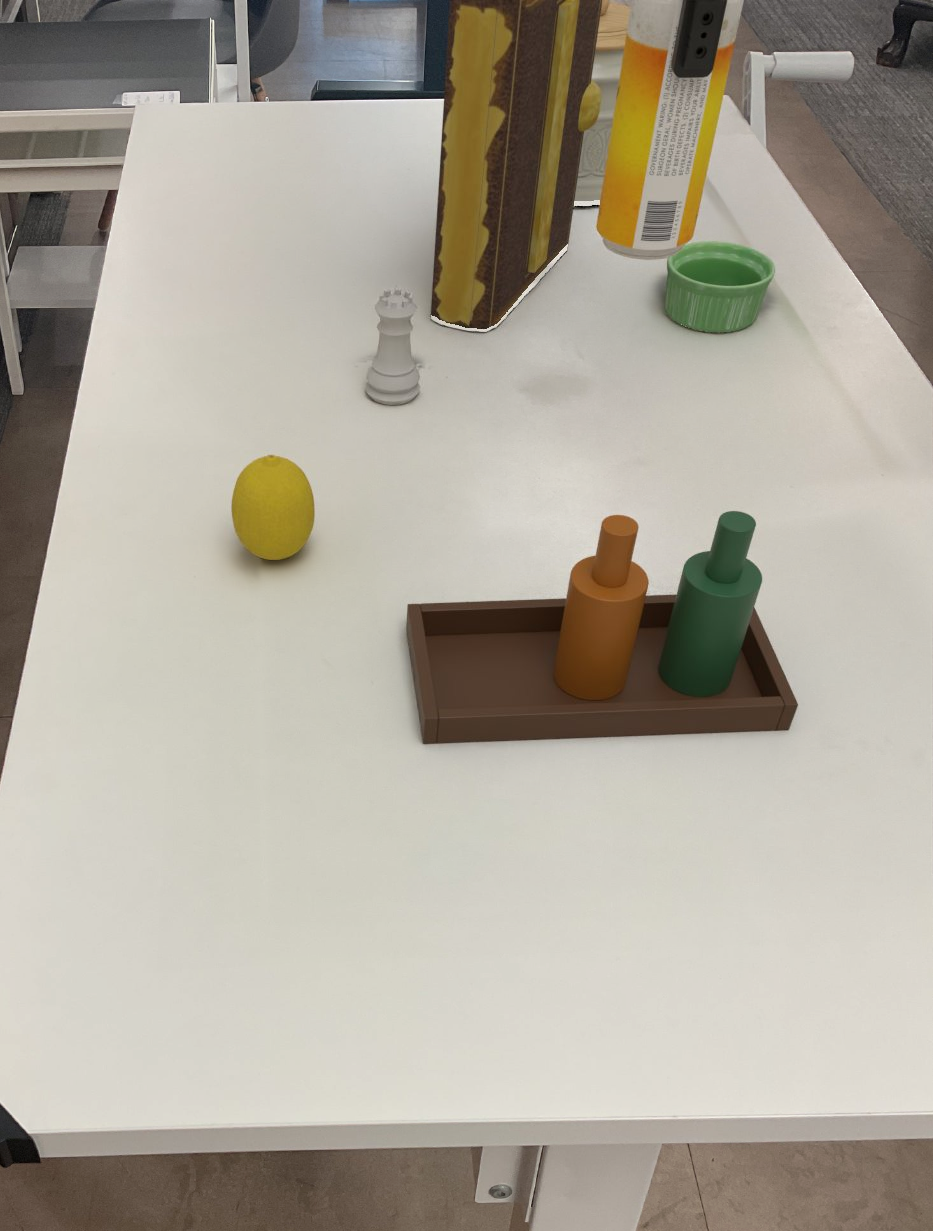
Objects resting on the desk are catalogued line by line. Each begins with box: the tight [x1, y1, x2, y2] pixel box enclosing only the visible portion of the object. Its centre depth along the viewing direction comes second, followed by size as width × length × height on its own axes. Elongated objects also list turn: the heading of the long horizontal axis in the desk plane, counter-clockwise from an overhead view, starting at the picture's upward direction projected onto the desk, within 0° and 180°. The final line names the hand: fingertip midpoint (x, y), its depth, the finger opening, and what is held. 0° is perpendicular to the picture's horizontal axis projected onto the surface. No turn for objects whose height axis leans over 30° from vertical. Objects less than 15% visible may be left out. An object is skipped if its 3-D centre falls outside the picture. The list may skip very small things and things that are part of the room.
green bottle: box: [658, 510, 763, 697], centre depth 73 cm, size 4×4×11 cm
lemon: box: [230, 454, 316, 561], centre depth 83 cm, size 6×6×8 cm
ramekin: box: [663, 240, 776, 334], centre depth 108 cm, size 9×9×4 cm
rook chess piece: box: [364, 287, 421, 406], centre depth 98 cm, size 4×4×8 cm
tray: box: [405, 593, 799, 745], centre depth 76 cm, size 22×11×3 cm, turn 93°
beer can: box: [595, 0, 745, 261], centre depth 74 cm, size 6×6×15 cm
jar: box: [574, 0, 631, 201], centre depth 123 cm, size 13×13×18 cm
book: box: [430, 0, 602, 329], centre depth 106 cm, size 22×8×25 cm, turn 152°
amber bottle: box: [554, 514, 650, 701], centre depth 73 cm, size 4×4×11 cm
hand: (677, 54), depth 72 cm, fingers closed on beer can, 6 cm apart
